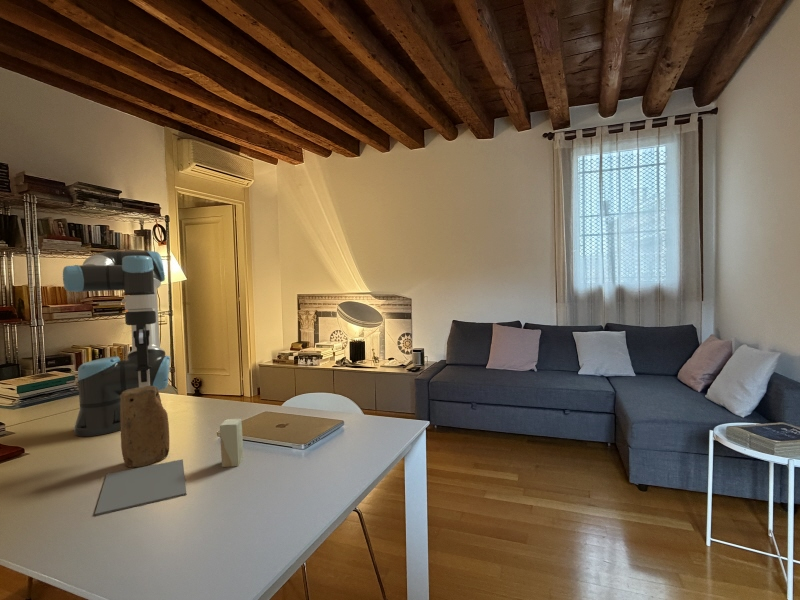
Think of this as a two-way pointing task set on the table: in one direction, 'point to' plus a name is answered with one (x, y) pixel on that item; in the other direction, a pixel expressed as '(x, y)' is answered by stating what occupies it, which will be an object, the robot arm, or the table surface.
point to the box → (231, 442)
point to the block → (143, 427)
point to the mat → (142, 486)
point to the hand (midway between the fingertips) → (144, 392)
